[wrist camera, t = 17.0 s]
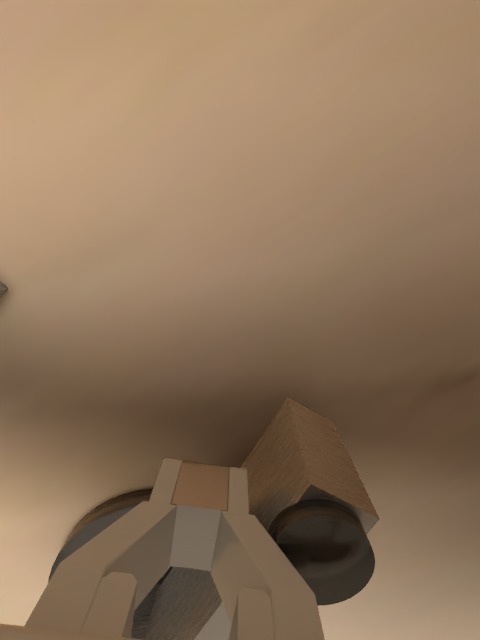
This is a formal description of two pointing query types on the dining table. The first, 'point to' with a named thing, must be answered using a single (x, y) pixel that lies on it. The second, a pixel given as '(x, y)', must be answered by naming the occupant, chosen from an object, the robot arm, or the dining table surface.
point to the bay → (2, 289)
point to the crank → (281, 528)
